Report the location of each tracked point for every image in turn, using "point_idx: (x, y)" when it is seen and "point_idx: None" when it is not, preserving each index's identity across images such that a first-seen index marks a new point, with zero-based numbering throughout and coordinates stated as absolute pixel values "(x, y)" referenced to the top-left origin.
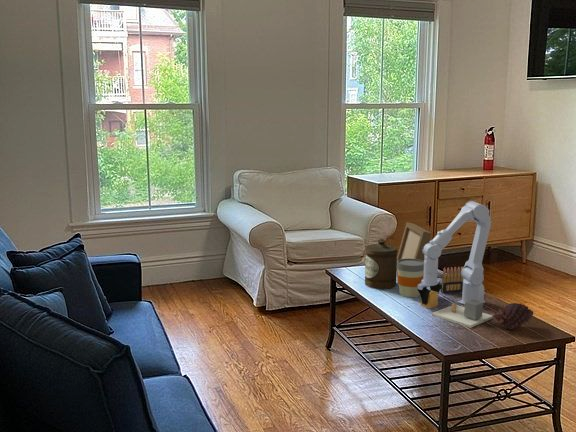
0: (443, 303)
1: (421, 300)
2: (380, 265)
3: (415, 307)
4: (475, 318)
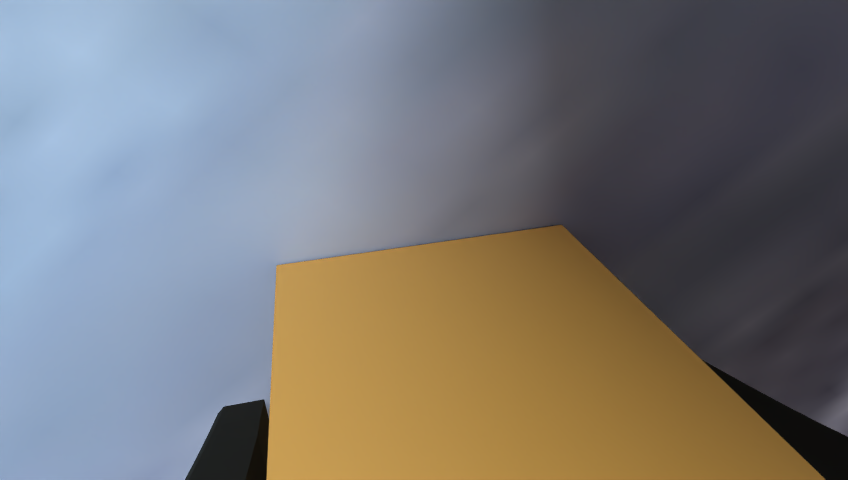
0: None
1: (277, 369)
2: None
3: (27, 311)
4: None
